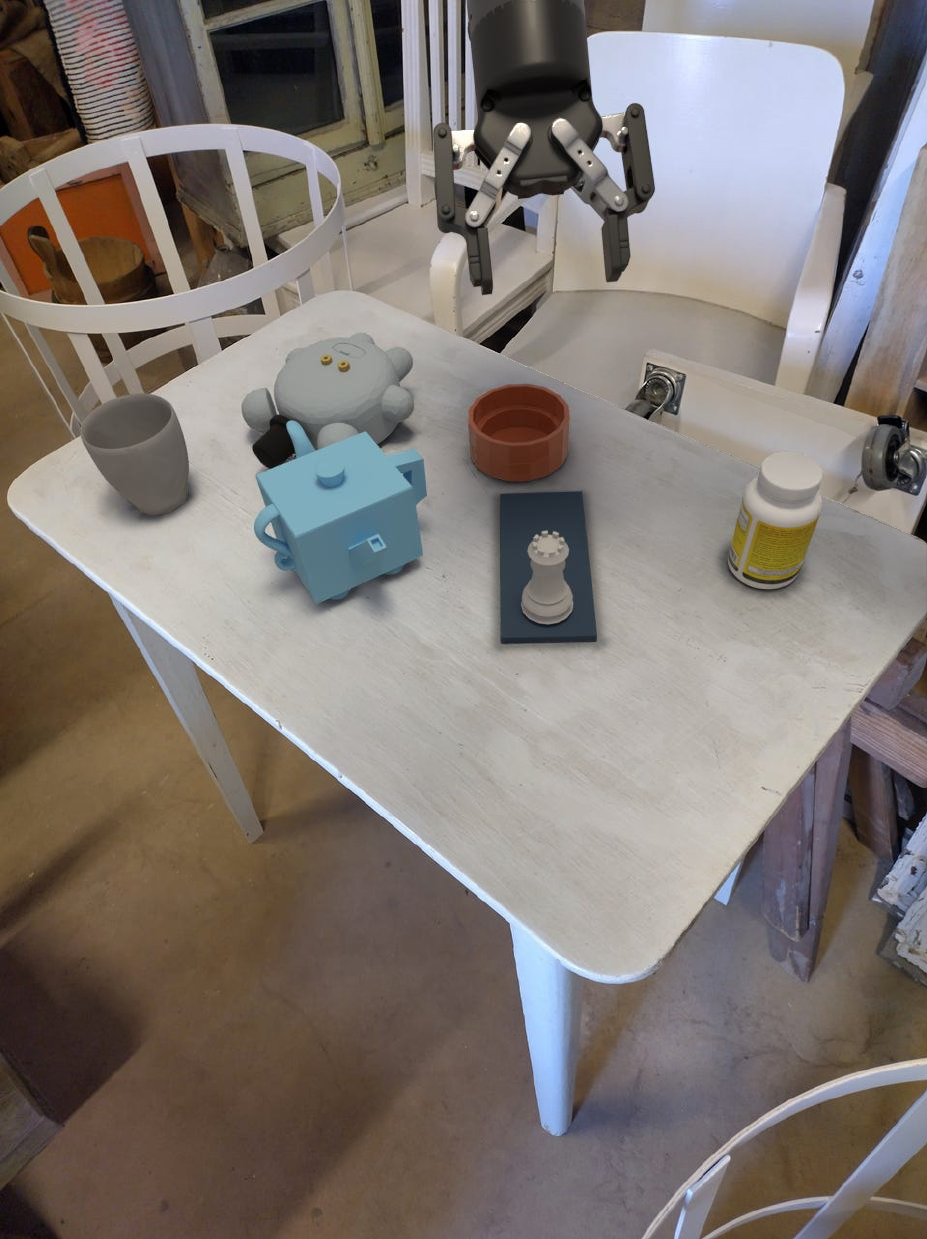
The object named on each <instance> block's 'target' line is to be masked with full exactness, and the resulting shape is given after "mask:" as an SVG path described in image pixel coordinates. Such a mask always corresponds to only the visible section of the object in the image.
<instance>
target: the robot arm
mask: <svg viewBox="0 0 927 1239" xmlns="http://www.w3.org/2000/svg"><path fill="white" fill-rule="evenodd" d="M466 9H467V11H466V12H467V36H468V40H469V41H470V52H471V62H472V72H473V81H474V91H475V101H476V111H477V122H476V124H475V126H474V129H460V130H452V127H451V126H450V125H449V124H448V123H446V122H439V123H437V124H436V125H435V126H434V127H433V131H432V137H433V138H432V139H433V159H434V176H435V177H434V178H435V181H434V182H435V199H436V201H435V203H436V218H437V219H436V221H437V228H438V230H439V231H440V232H441V233H443V234H450V233H454V234H458V235H460V236H461V237H462V238H463V239H464V241H465V244H466V253H467V261H468V262H467V264H468V274H469V281H470V283H471V285H472V287H473V288H476V287H477V288H478V287H480V292H481V296H488V295H493V291H494V278H493V269H492V259H491V250H490V239H489V238H490V237H489V230H488V229H489V228H488V227H487V226H488V225H489V223H490V221H491V220H492V218H493V217H494V215H496V214H497V212H498V210H499V209H500V207H501V205H502V203H503V202H504V201H505V199H506V197H507V195H508V193H509V194H511V195H513V196H515V197H517V199H518V200H524V199H530V198H533V197H535V196H538V195H546V196H560V195H561V196H562V195H565V191H568V190H569V189H571V190H572V191H573V192H574V193H575V195H576V196H577V197H578V198H579V199H580V200H581V201H582V203H584V204H585V205H589V206H590V207H591V208H592V210H593V211H594V212H595V213H596V214H597V215H598V216H599V218H601V220H602V221H603V223H602V226H601V228H600V230H601V242H602V252H603V253H602V254H603V265H604V275H605V282H606V283H615V282H616V283H617V282H618V281H619V279H620V278H621V277H622V274H623V272H625V271H626V269H627V267H628V266H629V264H630V260H631V257H632V256H631V248H630V247H631V246H630V235H629V223H628V218H629V217H630V216H633V215H634V214H642V213H643V212H644V211H645V210H646V208H647V207H648V204H649V202H650V200H651V199H652V197H653V196H654V194H655V191H656V183H655V178H654V177H655V176H654V169H653V163H652V156H651V150H650V143H649V134H648V129H647V128H648V127H647V123H646V122H647V120H646V114H645V109H644V107H643V105H641V104H640V103H638V102H632V103H630V104H629V105H628V106H627V107H626V109H625V112H619V113H612V114H608V115H607V114H606V115H602V116H601V114H600V112H599V111H598V110H597V108H596V106H595V103H594V100H593V99H594V98H593V89H592V88H593V87H592V77H591V66H590V56H589V43H588V33H587V22H586V21H587V20H586V7H585V0H466ZM600 138H603V139H606V140H607V141H608V142H609V144H610V146H611V149H612V150H613V151H614V152H615V153H620V154H621V162H622V168H623V175H624V182H625V189H626V190H624V191H623V190H622V189H621V187H620V186H619V185H618V184H617V183H616V182H615V180H613V179H612V177H611V176H610V174H609V171H608V168H607V167H606V165H605V164H604V163H603V162H602V160H600V158H599V157H598V156H597V155H596V154H595V152H594V151H595V149H596V147H597V146H598V144H599V142H600ZM471 152H474V155H475V156H476V157H477V158H478V160H479V161H480V162H481V163H482V164H483V166H485V168H486V169H487V170H488V171H487V173H486V175H485V177H484V179H483V181H482V182H481V184H480V186H479V187H480V188H479V190H478V192H477V193H476V195H475V197H474V198H473V200H472V202H471V204H470V205H469V207H468V208H467V207H463V206H461V205H456V196H455V194H456V193H455V175H454V174H455V172H454V171H457V170H460V169H462V168H463V167H464V166H465V160H466V157H467V155H468V154H469V153H471Z"/></svg>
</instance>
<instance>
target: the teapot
mask: <svg viewBox="0 0 927 1239" xmlns="http://www.w3.org/2000/svg"><path fill="white" fill-rule="evenodd" d="M286 426H287V430H288V433H289V435H290V437H291V439H292V442H293V445H294V449H295V453H296V454H295V457H296V458H295V459H292V460H289V461H287V462H284V463H283V464H282V465H279V466H277V467H274V468H272V469H267V470H265V471H262V472H260V473H258V474H256V475H255V479H256V483H257V486H258V488H259V491H260V494H261V497H262V500H263V503H264V506H265V507H264V508H263V509H262V510H260V512H259V513H258V514H257V516H256V518H255V519H254V523H253V531H254V534H255V536H256V538H257V539H258V541H259V542H260V543H262V545H264V546H265V547H267V548H268V549H270V550H273V551H275V554H274V559H273V560H274V564H275V566H276V567H277V568H279V570H281V571H291V570H294V571H295V573H296V574H297V576H298V578H299V579H300V581H301V583H302V584H303V586H304V587H305V589H306V590H307V592H308V594H309V596H310V597H311V599H312V600H313V602H314V603H315V605H318V604H320V603H322V602H325V601H327V600H329V599H330V600H341V599H343V598H346V596H347V595H349V593H350V591H351V589H353V588H355V587H357V586H360V585H362V584H364V583H366V582H368V581H371V580H373V579H376V578H377V577H380V576H383V575H390V576H391V575H396V574H398V573H400V572H401V571H402V570H403V569H404V565H406V564H408V563H411V562H412V561H415V560H417V559H419V558H421V557H423V556H424V550H423V542H422V538H421V530H420V524H419V523H420V522H419V516H418V510H417V505H418V504H419V503H420V502H422V500H424V499H425V498H426V497H427V496H428V491H427V480H426V470H425V469H426V467H425V458H423V456H422V455H421V454H420V453H419V452H418V450H416V448H412V449H407V450H404V451H399V452H395V453H391V454H387V455H386V453H385V452H384V451H383V450H382V449H381V447H380V446H379V444H376V443H375V442H374V441H373V439H372V438H371V437H370V436H369V435H368V433H367V432H363V433H360V434H357V435H355V436H352V437H350V438H347V439H345V440H342V441H340V442H337V443H334V444H332V445H329V446H327V447H324V448H322V449H319V450H317V451H315V449H314V447H313V446H312V444H311V442H310V441H309V439H308V437H307V435H306V434H305V432H304V430H303V428H302V427H301V426H300V425H299V424H298V423H297V422H295V421H288V422H287V425H286ZM269 525H271V527H272V530H273V533H274V535H275V537H274V536H271V535H269V534H268V533H267V532H266V529H267V527H268V526H269Z"/></svg>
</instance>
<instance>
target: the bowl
mask: <svg viewBox="0 0 927 1239" xmlns="http://www.w3.org/2000/svg"><path fill="white" fill-rule="evenodd" d="M467 415H468V416H467V424H468V425H467V426H468V439H469V452H470V458H471V460H472V462H473V463H474V465H475V466H476V467H477V469H478V470H480V471H481V472H483V473H484V474H486V475H487V476H489V477H490V478H493V479H498V480H502V481H506V482H510V483H511V482H531V481H534V480H537V479H540V478H545V477H547V476H549V475H551V474H552V473H553V472H555V471H556V470H558V469H559V468H560V467H562V466H563V464H564V463H565V460H566V458H567V456H568V455H569V443H570V442H569V441H570V420H571V416H570V415H571V414H570V407H569V404H568V403H567V402H566V400H564V398H563V397H562V396H561V394H559V393H557V392H555V391H553V390H552V389H550V388H548V387H546V386H542V385H537V384H531V383H510V384H509V383H508V384H505V385H501V386H498V387H494V388H491V389H489V390H487V391H486V392H484V393H483V394H480V395H479V396H478V397H476V398H475V400H474V401H473V402H472V404H471V406H470V407H469V408H468V413H467Z"/></svg>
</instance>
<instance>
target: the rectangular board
mask: <svg viewBox="0 0 927 1239" xmlns="http://www.w3.org/2000/svg"><path fill="white" fill-rule="evenodd" d="M585 514H586V513H585V505H584V495H583V491H582V490H571V491H570V490H569V491H568V490H567V491H537V492H509V493H500V494H499V522H500V523H499V529H500V530H499V534H500V535H499V538H500V539H499V540H500V550H499V551H500V552H499V553H500V639H501V640H500V641H501V642H500V643H501V644H526V643H527V644H529V643H532V644H533V643H536V644H537V643H574V642H575V643H579V642H583V643H584V642H597V640H598V632H597V630H598V629H597V622H596V611H595V603H594V593H593V582H592V574H591V573H592V572H591V562H590V554H589V542H588V535H587V524H586V515H585ZM547 530H548V535H552V534H553V532H554V531H555V532H557V533H559V538H561V537H563V538H564V541H565V543H566V544H567V546H568V548H569V553H568V556H567V557H566V558H565V568H564V569H563V577H564V580H565V581H566V583H567V585H568V586H569V587H570V590H571V593H572V595H573V599H572V601H573V608H572V612H571V613H570V614H569V616H568V617H567V618H565V619H564V620H562V621H560V622H558V623H555V624H550V625H546V624H539V623H537V622H535V621H533V620H531V619H529V618H528V617H527V616H526V615H525V614H524V613H523V610H522V607H521V602H522V594H523V590H524V588H525V587H526V586H527V584H528V583H529V582H530V580H531V579H532V575H533V569H532V567H531V558H530V557H529V554H528V547H529V545H530V543H531V542H532V541H533V538H534V537H535V535H536V534H537V535H539V537H540V536H541V533H542V531H547Z"/></svg>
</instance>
